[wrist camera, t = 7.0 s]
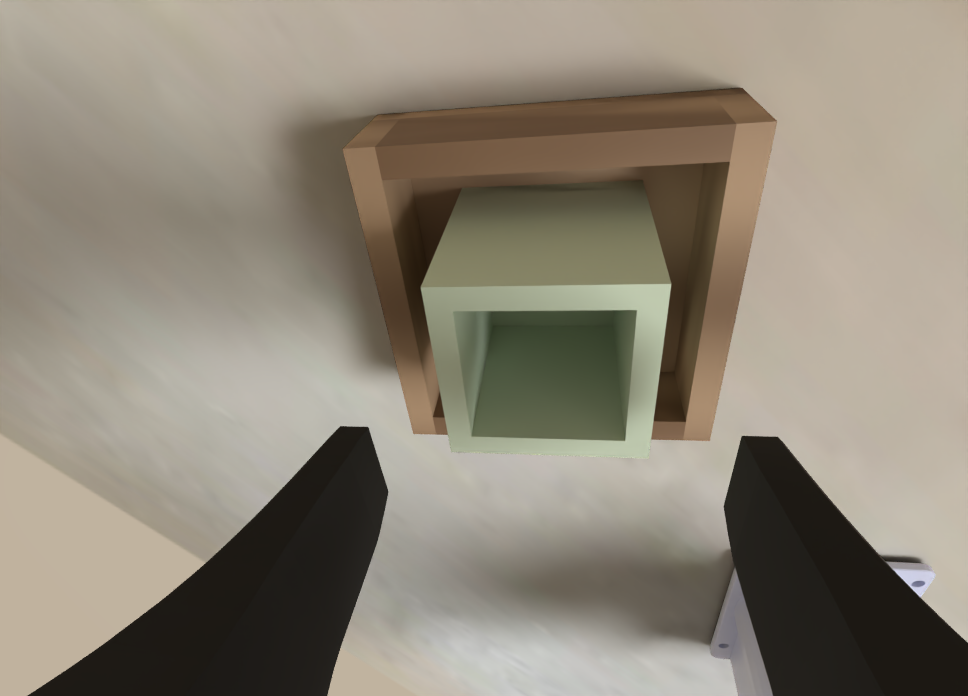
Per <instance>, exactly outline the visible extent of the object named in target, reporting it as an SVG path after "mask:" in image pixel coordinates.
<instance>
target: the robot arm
mask: <svg viewBox="0 0 968 696" xmlns="http://www.w3.org/2000/svg"><path fill="white" fill-rule="evenodd" d="M387 496H388V489H387V486H386V483H385V479H384V476H383V473H382V470H381V467H380V463H379V460H378V457H377V454H376V450H375V447H374V444H373V441H372V438H371V434H370V431H369V428H368V427H347V426H340V427H339V428H338V429H337V430H336V431H335V432H334V433H333V434H332V435H331V436H330V438H329V439H328V440H327V441H326V442H325V443H324V444H323V445H322V446H321V447H320V448H319V449H318V451H317V452H316V453H315V454H314V455H313V456H312V457H311V458H310V459H309V460H308V461H307V463H306V464H305V465H304V466H303V467H302V468H301V469H300V470H299V471H298V472H297V473H296V474H295V475H294V477H293V478H292V479H291V480H290V481H289V482H288V483H287V484H286V485H285V486H284V487H283V488H282V489H281V490H280V491H279V492H278V493H277V494H276V495H275V497H274V498H273V499H272V500H271V501H270V502H269V503H268V504H267V505H266V506H265V507H264V508H263V509H262V510H261V511H260V512H259V513H258V514H257V515H256V516H255V517H254V518H253V519H252V520H251V521H250V522H249V523H248V524H247V525H246V526H245V527H244V528H243V529H242V530H241V531H240V532H239V533H237V534H236V535H235V536H234V537H233V538H232V539H231V540H230V541H229V542H228V543H227V544H226V545H225V546H224V547H223V548H222V549H221V550H220V551H219V552H218V553H216V554H215V555H214V556H213V557H212V558H211V559H210V560H209V561H208V562H206V563H205V564H204V565H203V566H202V567H201V568H200V569H199V570H197V571H196V572H195V573H194V574H193V575H192V576H191V577H189V578H188V579H187V580H186V581H184V582H183V583H182V584H181V585H180V586H179V587H177V588H176V589H175V590H174V591H173V592H171V593H170V594H169V595H168V596H166V597H165V598H164V599H163V600H161V601H160V602H159V603H158V604H156V605H155V606H154V607H152V608H151V609H150V610H148V611H147V612H146V613H144V614H143V615H142V616H140V617H139V618H138V619H136V620H135V621H134V622H133V623H131V624H130V625H128V626H127V627H126V628H125V629H123V630H122V631H121V632H119V633H118V634H117V635H115V636H114V637H113V638H111V639H110V640H109V641H107V642H106V643H105V644H103V645H102V646H101V647H99V648H98V649H96V650H95V651H94V652H92V653H91V654H89V655H88V656H86V657H85V658H83V659H82V660H80V661H79V662H78V663H76V664H75V665H73V666H72V667H70V668H69V669H67V670H66V671H64V672H63V673H61V674H60V675H58V676H57V677H55V678H54V679H52V680H51V681H49V682H48V683H46V684H45V685H43V686H42V687H40V688H39V689H37V690H36V691H34V692H33V693H31V694H29V695H28V696H327V694H328V690H329V686H330V682H331V678H332V674H333V670H334V667H335V664H336V660H337V657H338V654H339V651H340V647H341V644H342V641H343V639H344V636H345V633H346V630H347V627H348V624H349V622H350V619H351V616H352V613H353V610H354V607H355V604H356V602H357V599H358V596H359V593H360V590H361V587H362V585H363V582H364V579H365V576H366V573H367V570H368V567H369V564H370V562H371V559H372V556H373V553H374V550H375V547H376V544H377V541H378V537H379V533H380V529H381V524H382V520H383V516H384V511H385V506H386V501H387ZM724 511H725V517H726V523H727V529H728V536H729V541H730V547H731V552H732V557H733V562H734V565H735V568H734V571H733V574H732V577H731V581H730V584H729V587H728V590H727V593H726V597H725V600H724V603H723V606H722V609H721V613H720V616H719V619H718V622H717V625H716V629H715V632H714V635H713V638H712V641H711V645H710V652H711V655H712V656H713V657H715V658H721V659H730V660H731V664H732V669H733V674H734V678H735V683H736V688H737V692H738V696H968V643H967V642H966V641H965V640H964V639H963V638H962V637H961V636H960V635H959V634H958V633H956V632H955V631H954V630H953V629H952V628H951V627H950V626H949V625H948V624H947V623H946V622H945V621H944V620H943V619H942V618H941V617H940V616H939V615H938V614H937V613H936V612H935V611H934V610H933V609H932V608H931V607H930V606H928V605H927V604H926V603H925V602H924V601H923V600H922V599H921V598H920V597H921V596H922V595H923V593H924V592H925V590H926V589H927V588H928V586H929V585H930V584H931V582H932V581H933V579H934V578H935V573H934V571H933V569H932V568H931V566H929V565H927V564H922V563H904V562H886V561H885V560H884V559H883V558H882V557H881V556H880V555H879V554H878V553H877V552H876V551H875V550H874V549H873V547H872V546H871V545H870V544H869V543H868V542H867V541H866V540H865V539H864V537H863V536H862V535H861V534H860V533H859V532H858V531H857V530H856V529H855V527H854V526H853V525H852V524H851V523H850V522H849V521H848V520H847V519H846V517H845V516H844V515H843V514H842V513H841V512H840V511H839V509H838V508H837V507H836V506H835V505H834V504H833V502H832V501H831V500H830V499H829V498H828V497H827V495H826V494H825V493H824V492H823V491H822V489H821V488H820V487H819V486H818V485H817V483H816V482H815V481H814V480H813V479H812V477H811V476H810V475H809V474H808V473H807V471H806V470H805V469H804V468H803V466H802V465H801V464H800V463H799V461H798V460H797V459H796V458H795V457H794V455H793V454H792V453H791V452H790V450H789V449H788V448H787V447H786V445H785V444H784V443H783V442H782V441H781V440H780V439H779V438H778V437H761V436H742V437H741V441H740V445H739V449H738V453H737V457H736V461H735V465H734V469H733V472H732V476H731V480H730V484H729V488H728V492H727V496H726V500H725V504H724Z"/></svg>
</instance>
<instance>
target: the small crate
mask: <svg viewBox="0 0 968 696" xmlns="http://www.w3.org/2000/svg"><path fill="white" fill-rule="evenodd" d="M670 291H671V281H670V277H669V273H668V270H667V266H666V263H665V259H664V256H663V252H662V248H661V245H660V241H659V238H658V234H657V230H656V227H655V223H654V220H653V216H652V212H651V209H650V205H649V202H648V198H647V194H646V191H645V187H644V184H643V180H636V181H612V182H589V183H565V184H541V185H518V186H494V187H471V188H462V190H461V192H460V194H459V197H458V199H457V201H456V204H455V206H454V209H453V211H452V213H451V216H450V218H449V221H448V223H447V225H446V228H445V230H444V233H443V235H442V237H441V240H440V242H439V245H438V247H437V249H436V252H435V254H434V257H433V259H432V261H431V264H430V266H429V269H428V271H427V273H426V276H425V278H424V281H423V283H422V285H421V292H422V297H423V303H424V308H425V314H426V319H427V324H428V330H429V335H430V341H431V346H432V351H433V357H434V362H435V367H436V373H437V378H438V384H439V389H440V394H441V400H442V405H443V411H444V416H445V421H446V427H447V432H448V437H449V443H450V448H451V452H467V453H497V454H527V455H556V456H586V457H616V458H646V459H649V452H650V444H651V436H652V429H653V421H654V413H655V406H656V398H657V390H658V383H659V375H660V367H661V360H662V352H663V344H664V337H665V329H666V321H667V314H668V306H669V299H670Z"/></svg>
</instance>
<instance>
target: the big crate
mask: <svg viewBox="0 0 968 696" xmlns="http://www.w3.org/2000/svg"><path fill="white" fill-rule="evenodd" d="M776 125H777V121H776V120H775V119H774V118H773V117H772V116H771V115H770V114H769V113H768V112H767V111H766V110H765V109H764V108H763V107H762V106H761V105H760V104H758V103H757V102H756V101H755V100H754V99H753V98H752V97H751V96H750V95H749V94H748V93H747V92H746V91H745V90H744V89H743V88H734V89H721V90H707V91H694V92H680V93H666V94H653V95H639V96H626V97H612V98H598V99H585V100H571V101H558V102H544V103H530V104H517V105H503V106H490V107H476V108H462V109H449V110H435V111H421V112H408V113H394V114H381V115H377V116H376V117H375V118H374V119H373V120H372V121H371V122H370V123H369V124H368V125H367V126H366V127H365V128H364V129H363V130H362V131H360V132H359V133H358V134H357V135H356V136H355V137H354V138H353V139H352V140H351V141H350V142H349V143H348V144H347V145H346V146H345V147H344V148H343V153H344V157H345V161H346V165H347V169H348V173H349V177H350V181H351V185H352V189H353V193H354V197H355V201H356V205H357V209H358V213H359V217H360V221H361V225H362V229H363V233H364V237H365V241H366V245H367V249H368V253H369V257H370V261H371V265H372V269H373V273H374V277H375V281H376V285H377V289H378V293H379V297H380V302H381V306H382V310H383V314H384V318H385V322H386V326H387V330H388V334H389V338H390V342H391V346H392V350H393V354H394V358H395V362H396V366H397V370H398V374H399V378H400V382H401V386H402V390H403V394H404V398H405V402H406V406H407V410H408V414H409V418H410V422H411V426H412V430H413V434H439V435H448V432H447V427H446V421H445V416H444V411H443V405H442V400H441V394H440V389H439V384H438V378H437V373H436V367H435V362H434V357H433V351H432V346H431V341H430V335H429V330H428V324H427V319H426V314H425V308H424V303H423V297H422V292H421V285H422V283H423V281H424V278H425V276H426V273H427V271H428V269H429V266H430V264H431V261H432V259H433V257H434V254H435V252H436V249H437V247H438V245H439V242H440V240H441V237H442V235H443V233H444V230H445V228H446V225H447V223H448V221H449V218H450V216H451V213H452V211H453V209H454V206H455V204H456V201H457V199H458V197H459V194H460V192H461V190H462V188H471V187H494V186H518V185H541V184H565V183H589V182H612V181H636V180H643V184H644V187H645V191H646V194H647V198H648V202H649V205H650V209H651V212H652V216H653V220H654V223H655V227H656V230H657V234H658V238H659V241H660V245H661V248H662V252H663V256H664V259H665V263H666V266H667V270H668V273H669V277H670V281H671V291H670V299H669V306H668V314H667V321H666V329H665V337H664V344H663V352H662V360H661V367H660V375H659V383H658V390H657V398H656V406H655V413H654V421H653V429H652V436H651V439H654V440H697V441H710V437H711V432H712V427H713V423H714V418H715V413H716V408H717V404H718V399H719V394H720V390H721V385H722V380H723V375H724V371H725V366H726V361H727V356H728V352H729V347H730V342H731V337H732V333H733V328H734V323H735V319H736V314H737V309H738V304H739V300H740V295H741V290H742V285H743V281H744V276H745V271H746V267H747V262H748V257H749V252H750V248H751V243H752V238H753V233H754V229H755V224H756V219H757V214H758V210H759V205H760V200H761V196H762V191H763V186H764V181H765V177H766V172H767V167H768V162H769V158H770V153H771V148H772V144H773V139H774V134H775V129H776Z"/></svg>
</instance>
